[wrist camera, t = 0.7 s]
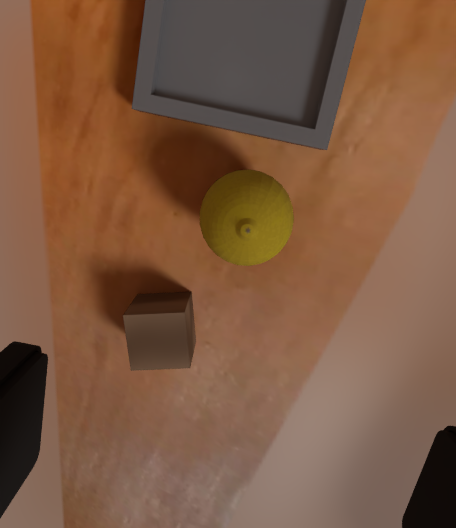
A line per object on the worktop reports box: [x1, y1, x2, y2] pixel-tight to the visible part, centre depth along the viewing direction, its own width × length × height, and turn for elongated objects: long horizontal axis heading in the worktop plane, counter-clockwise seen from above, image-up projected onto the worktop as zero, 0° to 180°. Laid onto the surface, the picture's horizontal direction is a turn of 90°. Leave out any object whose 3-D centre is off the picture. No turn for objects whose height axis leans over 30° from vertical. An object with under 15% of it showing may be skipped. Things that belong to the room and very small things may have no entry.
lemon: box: [200, 170, 294, 266], centre depth 25 cm, size 6×6×8 cm
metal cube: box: [123, 292, 196, 371], centre depth 29 cm, size 4×4×4 cm
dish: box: [132, 0, 366, 150], centre depth 24 cm, size 12×12×2 cm
